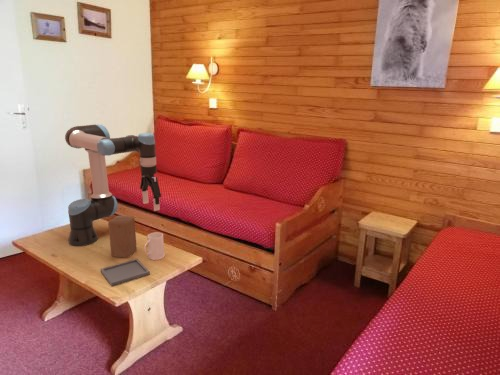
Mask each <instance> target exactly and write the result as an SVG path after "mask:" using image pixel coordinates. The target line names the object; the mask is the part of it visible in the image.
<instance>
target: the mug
mask: <svg viewBox="0 0 500 375" xmlns="http://www.w3.org/2000/svg"><path fill="white" fill-rule="evenodd" d="M164 245H165V244H164V233H162V232H158V231H157V232H156V231H154V232H150V233H149V234H147V241H146V242H145V244H144V247H143V251H144V254H146V255H147V258H148V259H149V260H154V261H158V260H161V259H163V258H164V257H165V246H164ZM146 248H147V249H146ZM146 250H147V251H146Z"/></svg>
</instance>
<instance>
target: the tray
mask: <svg viewBox="0 0 500 375" xmlns="http://www.w3.org/2000/svg"><path fill="white" fill-rule="evenodd" d="M100 273H101V275H103V277H104V278H105V280H106V281H107V283H108V284H109V285H110V286H111V287H115V286H118V285H121V284H124V283H127V282H128V283H129V282H131V281H135V280H138V279H141V278H144V277H147V276H150V275H151V272H150V270H149V269H148V268H147V267H146V266H145V265H144V264H143V263H142V262H141V261H140V260H139V259H138V258H134V259H131V260H128V261H124V262H121V263H116V264H114V265H110V266H107V267H102V268H100Z"/></svg>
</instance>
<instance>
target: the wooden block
mask: <svg viewBox="0 0 500 375" xmlns="http://www.w3.org/2000/svg"><path fill="white" fill-rule="evenodd" d="M135 220H136V219H135V217H134V216H129V215H128V216H127V215H119V214H118V215H116V216H114V217H113V218H111V219H110V220H108V221H107V222H108V223H107V224H108V233H109V234H108V235H109V245H110V246H109V247H110V255H111V257H115V258H124V259H128V258H130V257H131V256H132V255H133V254H135V253H136V252H137V248H138V247H137V237H136V235H137V234H136V222H135Z"/></svg>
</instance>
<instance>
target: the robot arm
mask: <svg viewBox="0 0 500 375" xmlns="http://www.w3.org/2000/svg"><path fill="white" fill-rule="evenodd" d="M155 138H156V137H155V134H154V133H151V132H142V133H139V134H138V135H133V134H130V135H126V136H121V137H114V138H113V137H112V138H111V135H110V132H109V130H108V129H107V127H105V125H103V124H86V125H75V126H72V127H70V128H69V129H68V130H67V131H66V133H65V136H64V139H65V140H64V141H65V142H66V144H67V145H68V146H69V147H71V148H73V149H84V150H85V151H86V152H87V154H88V160H89V161H88V163H89V169H90V177H91V178H90V179H91V184H92V185H91V186H92V194H91V195H90V199H87V198H80V199H76V200H74V201H72V202H71V203H69V205H68V207H67V210H68V212H67V213H68V219H69V225H70V226H69V227H70V231H69V236H68V244H69V245H71V246H75V247H81V246H87V245H91V244H94V243H95V242H97V240H98V234H97V232H96V229H95V228H94V225H93V224H94V223H93V222H94V221H97V220H100V219H103V218H109V217H110V216H113V215H115V214H116V212H117V211H118V200H117V198H116V197H115V195H113V193H112V192H110V190H109V180H108V171H107V163H106V156H108V157H109V156H112V155H117V154H118V155H119V154H123V153H125V154H126V153H132V152H138V153H139V163H140V173H141V175H140V176H141V179H140V186H139V189H140V190H141V193H142V204H144V205H145V204H146V205H147V204H149V203H150V202H149V187H150V190H151V192H152V195H153V197H152V199H153V200H152V202H153V212H156V211H160V209H161V208H160V198H162V193H161V189H160V186H159V180H158V177H157V176H156V177H155V174H157V172H158V170H157V167H158V166H157V155H156V140H155Z"/></svg>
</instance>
